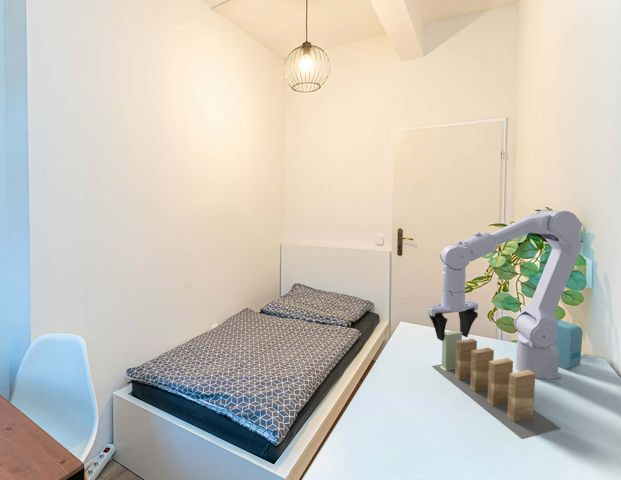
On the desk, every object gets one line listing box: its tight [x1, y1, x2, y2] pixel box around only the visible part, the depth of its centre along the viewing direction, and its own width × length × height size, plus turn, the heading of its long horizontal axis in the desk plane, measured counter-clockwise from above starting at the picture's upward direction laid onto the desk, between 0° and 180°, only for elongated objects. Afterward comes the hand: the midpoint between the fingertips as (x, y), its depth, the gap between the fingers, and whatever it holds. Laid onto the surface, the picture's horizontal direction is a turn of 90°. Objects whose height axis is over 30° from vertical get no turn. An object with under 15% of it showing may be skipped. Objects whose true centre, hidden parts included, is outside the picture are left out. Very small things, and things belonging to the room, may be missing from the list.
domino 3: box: [487, 357, 514, 406], centre depth 74 cm, size 2×5×10 cm, turn 105°
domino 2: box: [470, 347, 495, 392], centre depth 79 cm, size 2×5×10 cm, turn 105°
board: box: [431, 363, 562, 440], centre depth 78 cm, size 10×29×1 cm, turn 14°
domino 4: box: [507, 370, 536, 422], centre depth 68 cm, size 2×5×10 cm, turn 105°
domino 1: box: [455, 338, 478, 380], centre depth 84 cm, size 2×5×10 cm, turn 104°
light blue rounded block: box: [554, 318, 583, 370], centre depth 93 cm, size 12×4×12 cm, turn 21°
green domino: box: [441, 330, 463, 370], centre depth 90 cm, size 2×5×10 cm, turn 105°
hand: (452, 337), depth 89 cm, fingers open, 7 cm apart
